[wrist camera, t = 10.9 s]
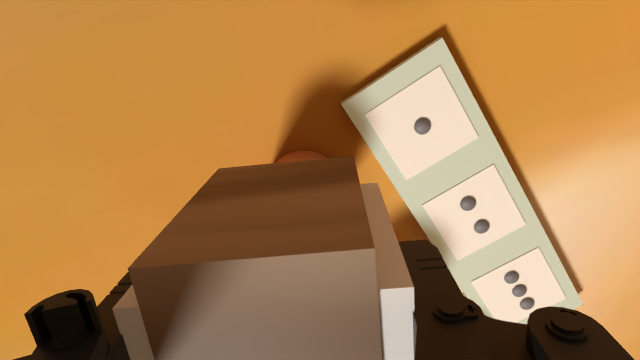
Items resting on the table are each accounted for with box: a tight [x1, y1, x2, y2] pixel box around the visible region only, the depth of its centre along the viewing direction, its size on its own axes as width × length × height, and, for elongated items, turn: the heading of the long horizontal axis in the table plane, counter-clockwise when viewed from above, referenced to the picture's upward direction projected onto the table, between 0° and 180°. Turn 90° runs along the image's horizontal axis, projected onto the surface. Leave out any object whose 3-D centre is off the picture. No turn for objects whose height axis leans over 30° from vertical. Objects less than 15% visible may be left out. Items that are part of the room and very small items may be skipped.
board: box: [341, 37, 583, 324], centre depth 31 cm, size 26×8×1 cm, turn 34°
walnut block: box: [128, 156, 382, 360], centre depth 12 cm, size 5×5×7 cm
